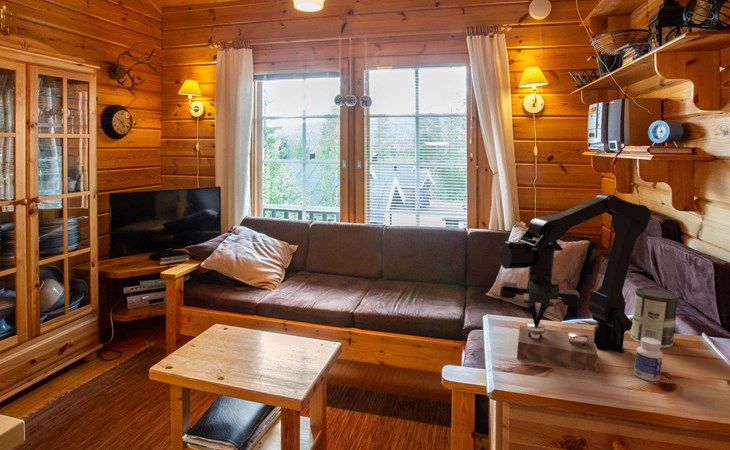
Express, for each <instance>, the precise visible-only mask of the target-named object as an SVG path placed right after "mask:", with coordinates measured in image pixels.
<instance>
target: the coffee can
mask: <svg viewBox="0 0 730 450" xmlns="http://www.w3.org/2000/svg"><path fill="white" fill-rule="evenodd" d="M634 295H635V297H634V304H633V315H632V320H631V321H632V323H633V325H632V327H631V329H630V338H631V340H634V341H635V342H637V343H639V344H641V343H640V342H641V338H644V337H647V338H653V339H656V340H658V341H660V342H661V348H663V349H665V348H671V347H673V345H674V339H675V338H674V337H675V329H676V321H677V320H676V319H677V314H678V306H679V299H680V295H679V294H678V293H676V292H673V291H669V290H666V289H662V288H661V289H660V288H655V287H637V288H636V289H635V294H634Z"/></svg>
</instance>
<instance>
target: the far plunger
mask: <svg viewBox="0 0 730 450" xmlns="http://www.w3.org/2000/svg"><path fill="white" fill-rule="evenodd" d="M526 326H527V331H529V332H531V338H537V339H540V334H543V333H545V329H546V325H544V324H543V323H539V325H538V326H535V325H534V321H530V322H527V323H526Z"/></svg>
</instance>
